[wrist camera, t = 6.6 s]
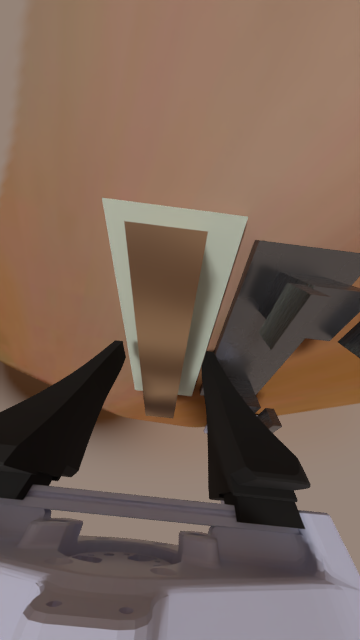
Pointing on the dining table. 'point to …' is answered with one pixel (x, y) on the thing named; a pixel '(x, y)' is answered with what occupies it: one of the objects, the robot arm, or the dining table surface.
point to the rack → (285, 313)
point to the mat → (212, 278)
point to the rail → (163, 305)
